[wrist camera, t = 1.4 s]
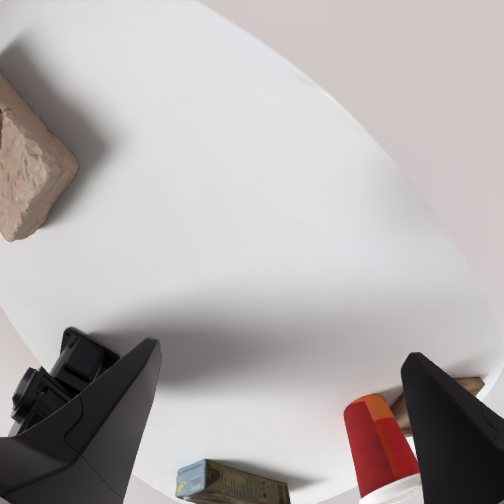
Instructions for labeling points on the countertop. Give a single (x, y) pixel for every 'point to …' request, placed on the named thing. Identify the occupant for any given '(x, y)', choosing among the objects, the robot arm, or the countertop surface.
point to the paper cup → (380, 453)
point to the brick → (28, 166)
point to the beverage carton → (227, 486)
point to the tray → (401, 412)
